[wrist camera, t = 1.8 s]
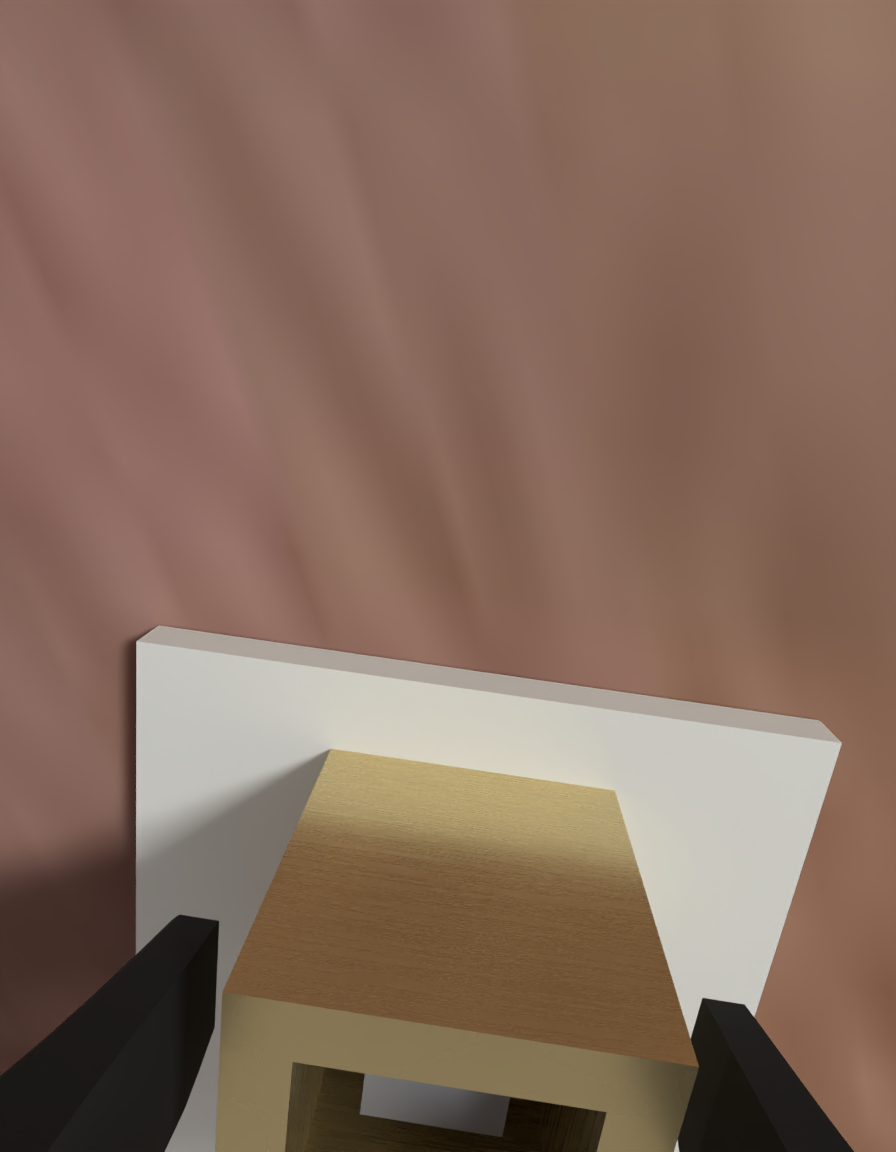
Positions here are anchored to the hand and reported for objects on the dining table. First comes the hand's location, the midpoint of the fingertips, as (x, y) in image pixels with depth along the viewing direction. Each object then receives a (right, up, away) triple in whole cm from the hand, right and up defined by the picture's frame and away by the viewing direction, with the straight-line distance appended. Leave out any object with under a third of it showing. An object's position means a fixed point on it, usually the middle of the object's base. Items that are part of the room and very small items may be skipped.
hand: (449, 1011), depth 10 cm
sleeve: (0, +1, +2) cm, 3 cm away
